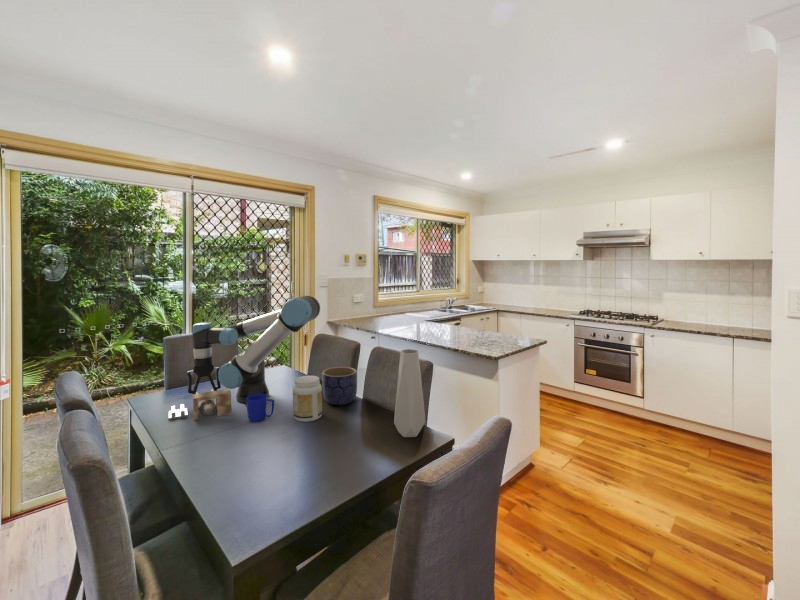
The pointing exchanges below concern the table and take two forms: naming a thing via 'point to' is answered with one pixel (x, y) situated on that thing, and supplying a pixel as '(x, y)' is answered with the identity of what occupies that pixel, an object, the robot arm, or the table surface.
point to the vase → (409, 395)
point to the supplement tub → (307, 398)
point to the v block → (178, 412)
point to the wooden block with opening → (221, 401)
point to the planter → (339, 385)
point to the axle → (207, 407)
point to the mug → (258, 407)
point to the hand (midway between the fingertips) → (205, 405)
